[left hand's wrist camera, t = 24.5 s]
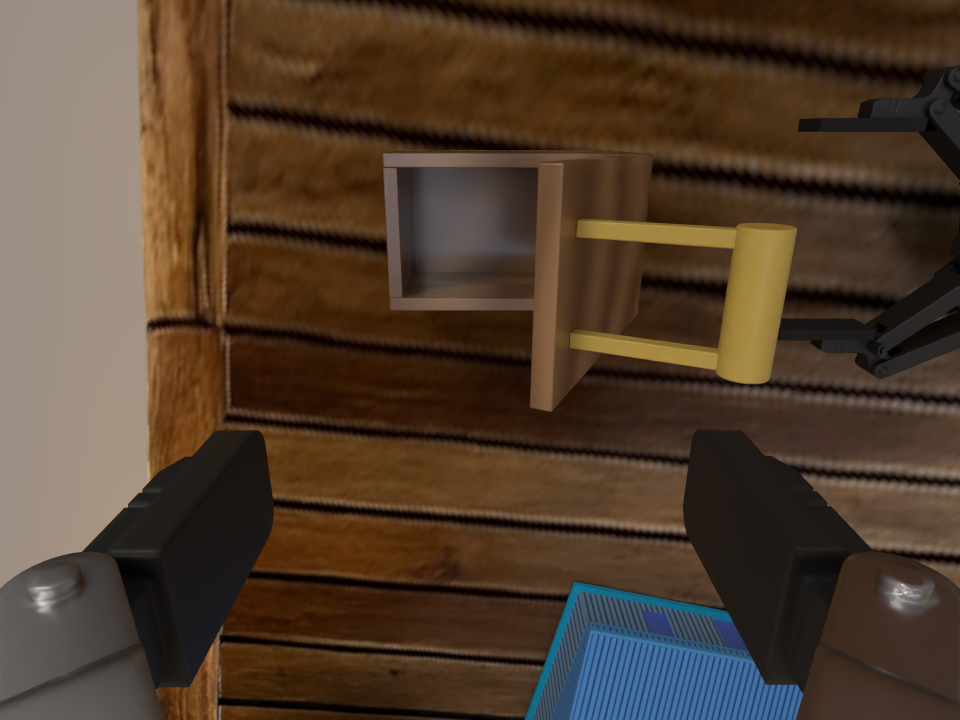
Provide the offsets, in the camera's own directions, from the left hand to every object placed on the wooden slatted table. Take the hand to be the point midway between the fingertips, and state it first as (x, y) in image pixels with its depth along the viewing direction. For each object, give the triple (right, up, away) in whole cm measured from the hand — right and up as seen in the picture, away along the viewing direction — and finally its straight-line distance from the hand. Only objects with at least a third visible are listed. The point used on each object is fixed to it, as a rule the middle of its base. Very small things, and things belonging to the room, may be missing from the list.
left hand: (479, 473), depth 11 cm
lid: (+6, +7, +20) cm, 22 cm away
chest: (+2, +13, +36) cm, 38 cm away
